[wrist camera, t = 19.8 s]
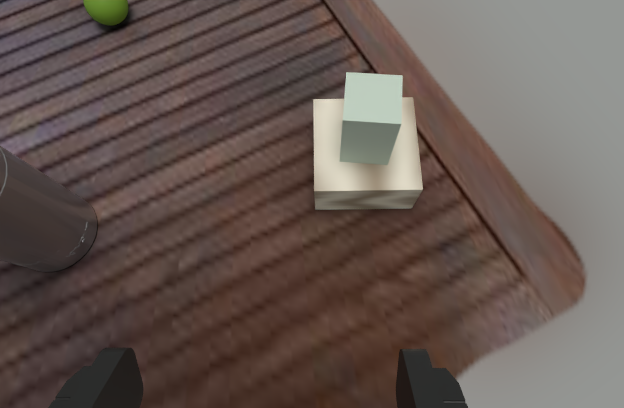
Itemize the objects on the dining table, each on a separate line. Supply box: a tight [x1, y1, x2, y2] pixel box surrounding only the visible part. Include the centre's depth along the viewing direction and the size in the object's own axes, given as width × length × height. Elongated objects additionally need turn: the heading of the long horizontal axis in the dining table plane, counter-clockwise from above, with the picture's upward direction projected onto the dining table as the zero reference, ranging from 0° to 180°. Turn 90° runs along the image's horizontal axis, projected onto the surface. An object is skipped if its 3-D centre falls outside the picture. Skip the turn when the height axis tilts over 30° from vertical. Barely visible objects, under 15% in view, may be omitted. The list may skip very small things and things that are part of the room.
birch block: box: [314, 97, 423, 210], centre depth 46 cm, size 11×11×6 cm
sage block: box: [339, 72, 402, 165], centre depth 39 cm, size 5×5×8 cm
